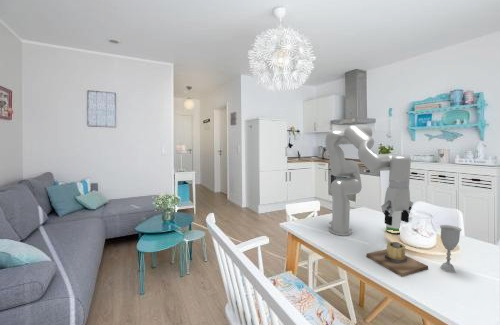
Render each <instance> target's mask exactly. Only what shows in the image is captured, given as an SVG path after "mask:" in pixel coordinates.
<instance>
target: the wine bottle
mask: <svg viewBox="0 0 500 325" xmlns="http://www.w3.org/2000/svg"><path fill="white" fill-rule="evenodd" d="M388 212H389V213H390V211H388ZM401 212H403V211H396V212H393V214H392V215H391V216H392V225H388V224H386V231H387V230H393V231H399V228H400V223H401Z"/></svg>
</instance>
